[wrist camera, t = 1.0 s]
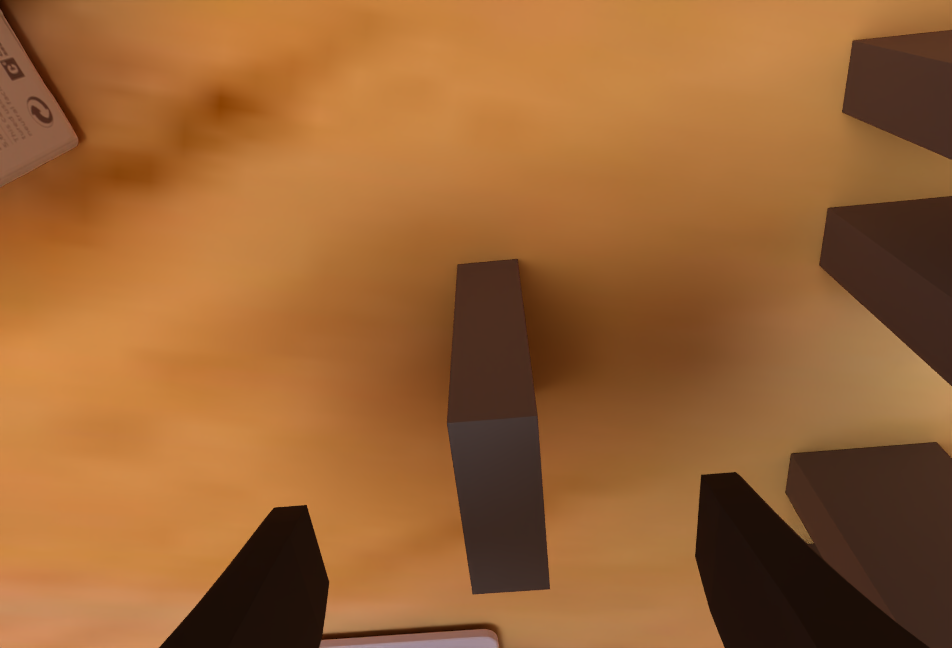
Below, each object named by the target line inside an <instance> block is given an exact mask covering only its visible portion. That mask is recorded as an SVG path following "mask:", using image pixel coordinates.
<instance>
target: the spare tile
mask: <svg viewBox="0 0 952 648" xmlns="http://www.w3.org/2000/svg"><path fill="white" fill-rule="evenodd" d="M447 427H448V433H449V440H450V447H451V453H452V460H453V467H454V473H455V480H456V487H457V493H458V500H459V507H460V513H461V520H462V526H463V533H464V540H465V546H466V553H467V560H468V566H469V573H470V580H471V586H472V593H473V594H485V593H500V592H515V591H530V590H545V589H550V583H549V569H548V555H547V541H546V528H545V514H544V500H543V486H542V472H541V458H540V444H539V430H538V416H537V408H536V401H535V393H534V385H533V377H532V369H531V361H530V354H529V346H528V338H527V330H526V322H525V314H524V307H523V299H522V291H521V283H520V275H519V267H518V259H512V260H502V261H491V262H480V263H469V264H458V265H457V280H456V295H455V310H454V325H453V340H452V355H451V371H450V386H449V401H448V416H447Z"/></svg>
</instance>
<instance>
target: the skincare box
mask: <svg viewBox="0 0 952 648" xmlns="http://www.w3.org/2000/svg"><path fill="white" fill-rule="evenodd" d="M77 145H78V137H77V135H76V133H75V132H74V130H73V128H72V126H71V124H70V123H69V121H68V119H67V118H66V116H65V114H64V113H63V111H62V109H61V108H60V106H59V104H58V103H57V101H56V100H55V98H54V96H53V95H52V94H51V92H50V91H49V89H48V88H47V87H46V85H45V83H44V82H43V80H42V79H41V77H40V75H39V74H38V72H37V70H36V69H35V67H34V65H33V64H32V62H31V60H30V59H29V57H28V55H27V54H26V52H25V50H24V49H23V47H22V45H21V43H20V42H19V40H18V38H17V37H16V35H15V33H14V32H13V30H12V28H11V27H10V25H9V23H8V22H7V20H6V19H5V17H4V15H3V13H2V11H1V9H0V187H2V186H4V185H6V184H8V183H10V182H11V181H13V180H15V179H17V178H19V177H21V176H23V175H25V174H27V173H29V172H30V171H32V170H34V169H36V168H37V167H39V166H41V165H43V164H44V163H46V162H48V161H50V160H52V159H54V158H56V157H58V156H60V155H62V154H64V153H66V152H67V151H69V150H71V149H73V148H74V147H76V146H77Z"/></svg>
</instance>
